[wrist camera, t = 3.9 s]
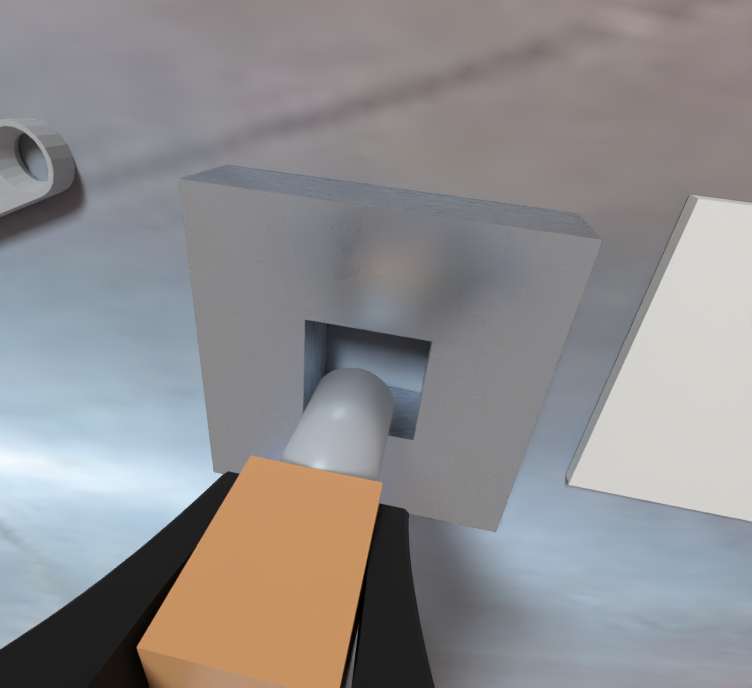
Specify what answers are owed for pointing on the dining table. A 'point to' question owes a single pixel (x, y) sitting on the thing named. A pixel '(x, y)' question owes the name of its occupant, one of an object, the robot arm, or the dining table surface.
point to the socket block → (383, 321)
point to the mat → (683, 376)
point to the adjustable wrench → (14, 181)
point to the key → (283, 556)
